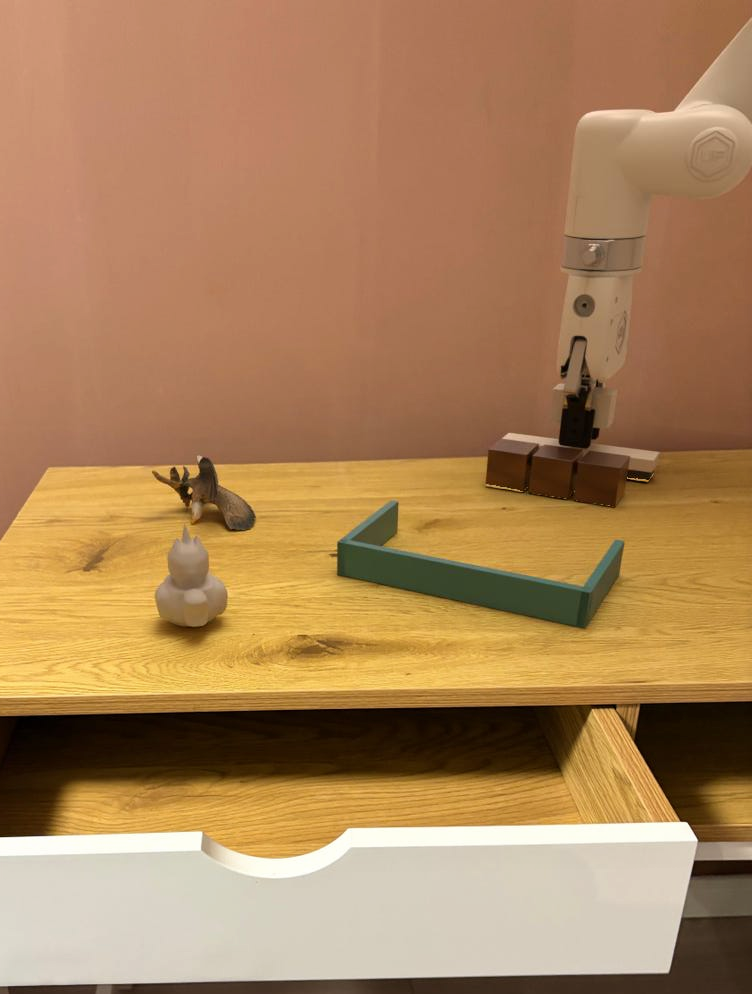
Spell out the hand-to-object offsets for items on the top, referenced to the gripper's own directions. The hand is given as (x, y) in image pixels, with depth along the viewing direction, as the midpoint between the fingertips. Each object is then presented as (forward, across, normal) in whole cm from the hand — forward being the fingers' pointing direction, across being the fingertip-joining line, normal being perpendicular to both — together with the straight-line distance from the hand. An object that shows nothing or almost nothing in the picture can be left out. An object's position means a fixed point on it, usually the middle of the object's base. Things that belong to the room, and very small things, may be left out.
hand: (578, 440), depth 102 cm
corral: (+3, -30, 0) cm, 30 cm away
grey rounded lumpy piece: (+3, -48, +16) cm, 51 cm away
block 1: (+3, -8, +5) cm, 9 cm away
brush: (+3, 0, 0) cm, 3 cm away
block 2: (+3, -8, 0) cm, 8 cm away
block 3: (+3, -8, -4) cm, 9 cm away
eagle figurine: (+3, -30, +27) cm, 40 cm away
